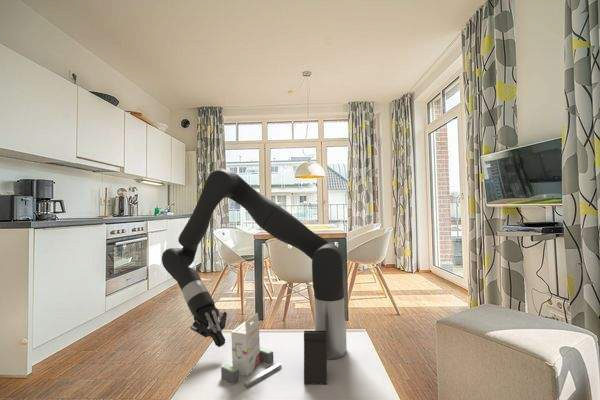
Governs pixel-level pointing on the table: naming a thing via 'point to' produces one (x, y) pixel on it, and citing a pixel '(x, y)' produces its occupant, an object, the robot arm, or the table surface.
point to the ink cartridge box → (246, 346)
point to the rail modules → (232, 373)
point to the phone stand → (315, 357)
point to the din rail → (262, 375)
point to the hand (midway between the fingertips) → (222, 345)
